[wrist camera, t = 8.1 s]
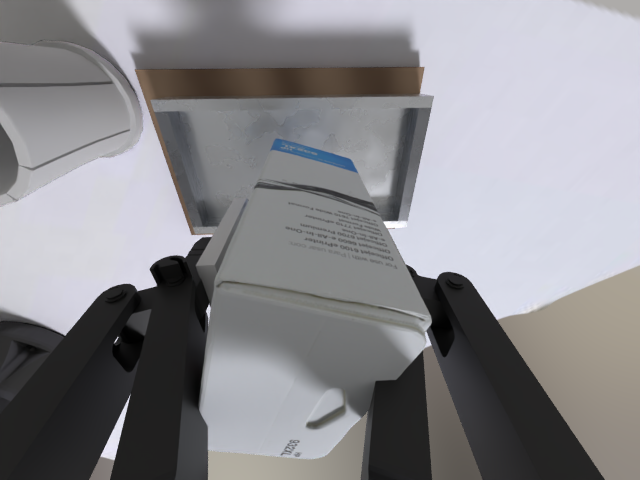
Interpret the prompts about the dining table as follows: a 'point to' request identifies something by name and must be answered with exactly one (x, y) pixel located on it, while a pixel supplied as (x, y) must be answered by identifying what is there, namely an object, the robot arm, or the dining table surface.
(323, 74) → the panel
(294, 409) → the ink box
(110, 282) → the dining table surface
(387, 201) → the metal serving tray
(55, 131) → the cup
